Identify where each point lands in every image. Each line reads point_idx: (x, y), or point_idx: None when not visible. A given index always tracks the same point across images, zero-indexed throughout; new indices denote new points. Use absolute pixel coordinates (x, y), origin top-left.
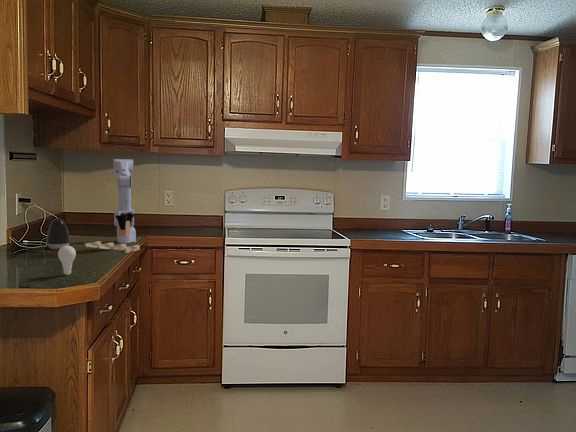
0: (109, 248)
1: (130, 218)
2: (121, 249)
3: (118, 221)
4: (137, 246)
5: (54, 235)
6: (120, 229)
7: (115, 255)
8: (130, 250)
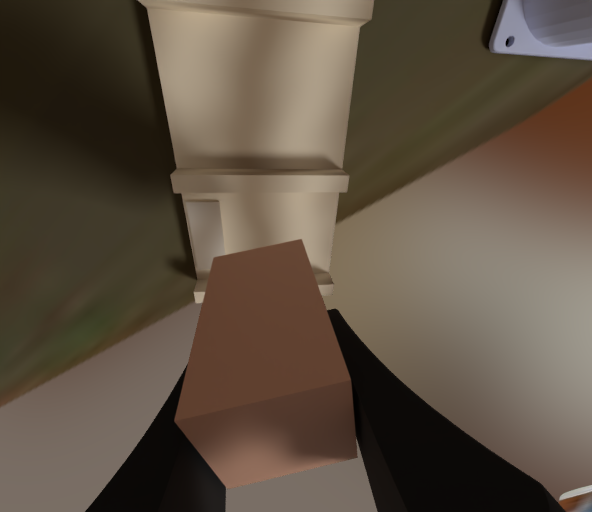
0: (200, 127)
1: (378, 506)
2: (207, 251)
3: (129, 466)
4: None
5: None
6: None
7: (101, 290)
8: None
